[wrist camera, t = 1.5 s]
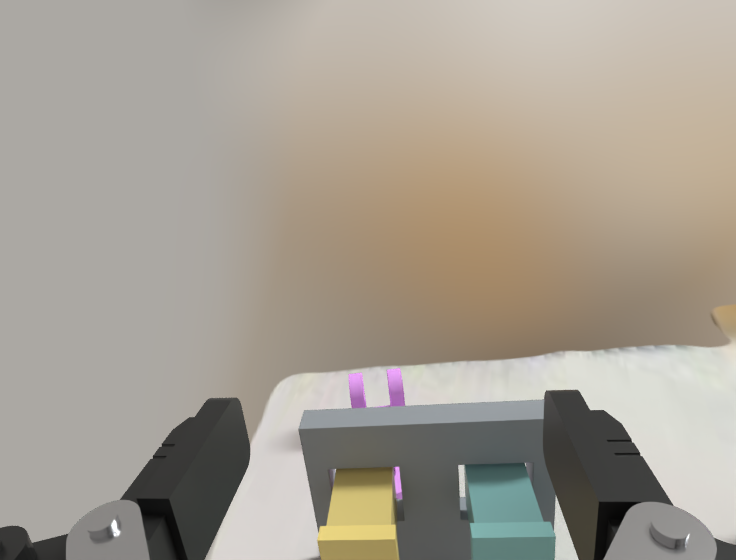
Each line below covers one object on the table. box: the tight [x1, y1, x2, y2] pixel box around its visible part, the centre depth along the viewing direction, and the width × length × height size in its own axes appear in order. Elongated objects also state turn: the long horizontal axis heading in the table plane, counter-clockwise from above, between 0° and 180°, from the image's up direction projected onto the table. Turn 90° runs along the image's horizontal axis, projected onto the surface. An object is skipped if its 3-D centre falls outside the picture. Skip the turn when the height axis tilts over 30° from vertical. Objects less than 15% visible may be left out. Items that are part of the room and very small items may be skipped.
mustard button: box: [317, 467, 399, 560], centre depth 31 cm, size 5×6×5 cm
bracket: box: [349, 368, 405, 499], centre depth 47 cm, size 13×6×7 cm, turn 3°
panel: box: [299, 400, 556, 560], centre depth 36 cm, size 17×5×14 cm, turn 86°
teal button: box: [464, 463, 556, 560], centre depth 30 cm, size 5×6×5 cm
